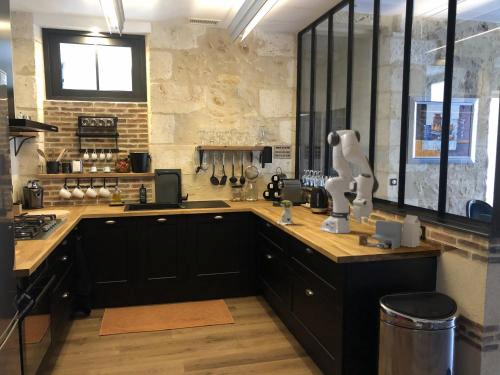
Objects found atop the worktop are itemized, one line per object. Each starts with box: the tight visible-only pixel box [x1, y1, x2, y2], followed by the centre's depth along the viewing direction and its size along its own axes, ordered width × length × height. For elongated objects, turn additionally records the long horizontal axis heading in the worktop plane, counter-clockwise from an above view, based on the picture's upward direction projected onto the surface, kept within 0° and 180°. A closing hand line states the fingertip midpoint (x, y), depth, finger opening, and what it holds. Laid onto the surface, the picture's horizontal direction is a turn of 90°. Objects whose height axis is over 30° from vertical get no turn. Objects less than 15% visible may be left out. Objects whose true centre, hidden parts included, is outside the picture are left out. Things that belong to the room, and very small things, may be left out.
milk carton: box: [401, 214, 421, 249], centre depth 244 cm, size 7×7×19 cm
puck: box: [376, 245, 385, 250], centre depth 240 cm, size 4×4×2 cm
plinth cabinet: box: [370, 219, 403, 250], centre depth 245 cm, size 14×13×14 cm
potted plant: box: [277, 199, 294, 226], centre depth 314 cm, size 12×13×18 cm
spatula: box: [358, 233, 390, 249], centre depth 245 cm, size 17×4×6 cm, turn 61°
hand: (362, 222), depth 248 cm, fingers open, 8 cm apart
